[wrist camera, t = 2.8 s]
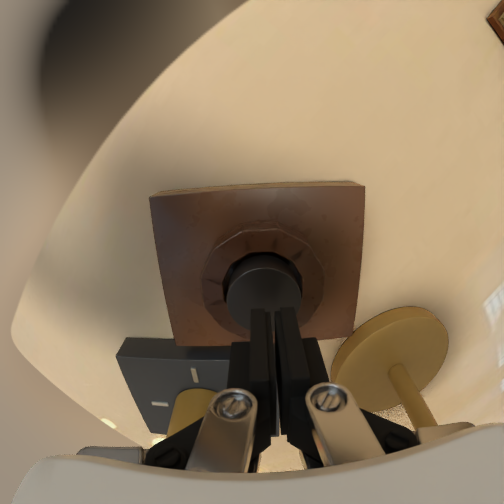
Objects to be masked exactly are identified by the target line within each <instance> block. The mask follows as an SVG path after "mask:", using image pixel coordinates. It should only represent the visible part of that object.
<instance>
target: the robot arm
mask: <svg viewBox="0 0 504 504" xmlns="http://www.w3.org/2000/svg"><path fill="white" fill-rule="evenodd" d="M274 315H275V357H274V346H273V335H272V325H271V315H270V311H267V312H265V308H253V309H251V314H250V341H242V342H232V343H231V352H230V361H229V371H228V380H227V389H225V390H222V391H220V392H218V393H217V394H215V395H214V396H213V397H212V399H211V401H210V403H209V405H208V408H207V411H206V414H205V416H203V417H202V418H200V419H198V420H197V421H195V422H194V423H192V424H190V425H189V426H187V427H185V428H184V429H182V430H180V431H178V432H177V433H175V434H173V435H171V436H170V437H168V438H166V439H164V440H163V441H161V442H159V443H157V444H155V445H154V446H153V447H151V448H150V449H143V448H142V447H97V446H90V447H85V448H83V449H81V450H80V451H79V452H78V453H77V454H76V455H56V456H50V457H46V458H44V459H41V460H39V461H38V462H37V463H35V464H34V465H33V466H32V467H31V469H30V470H29V471H28V473H27V474H26V476H25V477H24V479H23V481H22V482H21V484H20V486H19V488H18V489H17V492H16V494H15V496H14V498H13V500H12V502H11V504H504V423H489V424H483V425H479V426H475V425H473V424H472V423H469V422H458V423H452V424H446V425H439V426H431V427H422V428H417V430H416V431H411V430H409V429H408V428H406V427H404V426H401V425H399V424H396V423H394V422H391V421H389V420H387V419H384V418H382V417H380V416H377V415H375V414H373V413H370V412H368V411H366V410H364V409H361V408H359V406H358V405H357V403H356V401H355V399H354V398H353V396H352V394H351V392H350V391H349V390H348V389H347V388H346V387H344V386H343V385H341V384H338V383H334V382H329V378H328V375H327V371H326V368H325V365H324V361H323V358H322V355H321V351H320V348H319V345H318V341H317V339H316V337H311V338H301V334H300V330H299V325H298V321H297V317H296V313H295V309H294V306H291V307H280V311H275V312H274ZM276 381H277V383H276ZM277 392H278V404H279V416H280V428H281V435H287V442H290V444H291V445H293V446H295V447H296V448H298V449H299V455H300V458H301V461H302V464H303V467H304V470H298V471H286V472H270V473H258V471H259V466H260V460H261V452H263V451H264V450H265V449H266V448H268V447H269V446H270V445H271V436H272V435H276V420H277Z"/></svg>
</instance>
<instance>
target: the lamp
mask: <svg viewBox="0 0 504 504" xmlns="http://www.w3.org/2000/svg"><path fill="white" fill-rule="evenodd" d="M447 350H448V335H447V331H446V329H445V327H444V326H443V325H442V324H441V322H440V321H439V320H438V319H437V318H436V317H435V316H434V315H433V314H432V313H431V312H429V311H428V310H425V309H423V308H419V307H401V308H396V309H393V310H390V311H387V312H384V313H382V314H380V315H378V316H376V317H374V318H372V319H371V320H369V321H368V322H366V323H365V324H363V325H362V326H361V327H359V328H358V329H357V330H356V331H355V332H354V333H353V334H352V336H351V337H349V338H348V339H347V340H346V341H345V342H344V344H343V345H342V346H341V348H340V349H339V351H338V353H337V355H336V356H335V359H334V361H333V365H332V369H331V380H332V382H334V383H338V384H341V385H343V386H344V387H346V388H347V389H348V390H349V391H350V392H351V394H352V396H353V398H354V399H355V401H356V403H357V405H358V406H359V408H361V409H364V410H366V411H368V412H377V411H382V410H386V409H389V408H392V407H395V406H397V405H399V404H401V403H402V404H403V406H404V408H405V410H406V412H407V414H408V416H409V419H410V421H411V423H412V425H413V427H414V429H415V431H416V430H417V428H422V427H431V426H438V424H437V422H436V421H435V419H434V417H433V415H432V413H431V412H430V410H429V408H428V406H427V404H426V403H425V401H424V399H423V397H422V396H421V394H420V391H421V390H422V389H423V388H424V387H426V386H427V385H428V383H429V382H430V381H431V380H432V379H433V378H434V377H435V375H436V374H437V372H438V371H439V369H440V368H441V366H442V364H443V362H444V360H445V357H446V354H447Z"/></svg>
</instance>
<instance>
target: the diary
mask: <svg viewBox="0 0 504 504" xmlns="http://www.w3.org/2000/svg"><path fill="white" fill-rule="evenodd" d="M487 20H488V21H489V23H490V24H491V25H492V27H493V28H494V29H495V31H496V32H497V34H498V35H499V36H500V38H501V39H502V41H503V42H504V0H502V1H501V2H500V4H499V5H498V6H497V7H496V8H495V10H494V11H493V12H492V13H491V14H490V16H489V17H488V18H487Z"/></svg>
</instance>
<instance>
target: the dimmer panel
mask: <svg viewBox="0 0 504 504" xmlns="http://www.w3.org/2000/svg"><path fill="white" fill-rule="evenodd" d="M273 346H274V357H275V344H273ZM230 352H231V346H176V344H175V340H174V339H149V338H126V339H125V340H124V342H123V344H122V346H121V347H120V349H119V351H118V353H117V354H116V359H117V361H118V364H119V366H120V369H121V371H122V374H123V376H124V378H125V381H126V383H127V385H128V387H129V390H130V392H131V394H132V396H133V398H134V400H135V403H136V405H137V407H138V409H139V411H140V413H141V415H142V417H143V419H144V421H145V423H146V425H147V427H148V429H149V430H150V432H151V433H156V434H165V435H167V432H168V428H169V424H170V420H171V416H172V412H173V408H174V404H175V400H176V398H177V396H178V395H179V394H180V393H181V392H183V391H185V390H188V389H194V388H200V389H207V390H211V391H214V392H217V393H218V392H220V391H222V390H225V389H227V380H228V371H229V361H230ZM276 383H277V381H276ZM279 419H280V416H279V404H278V392H277V420H276V435H272V436H271V437H278V436H279Z"/></svg>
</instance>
